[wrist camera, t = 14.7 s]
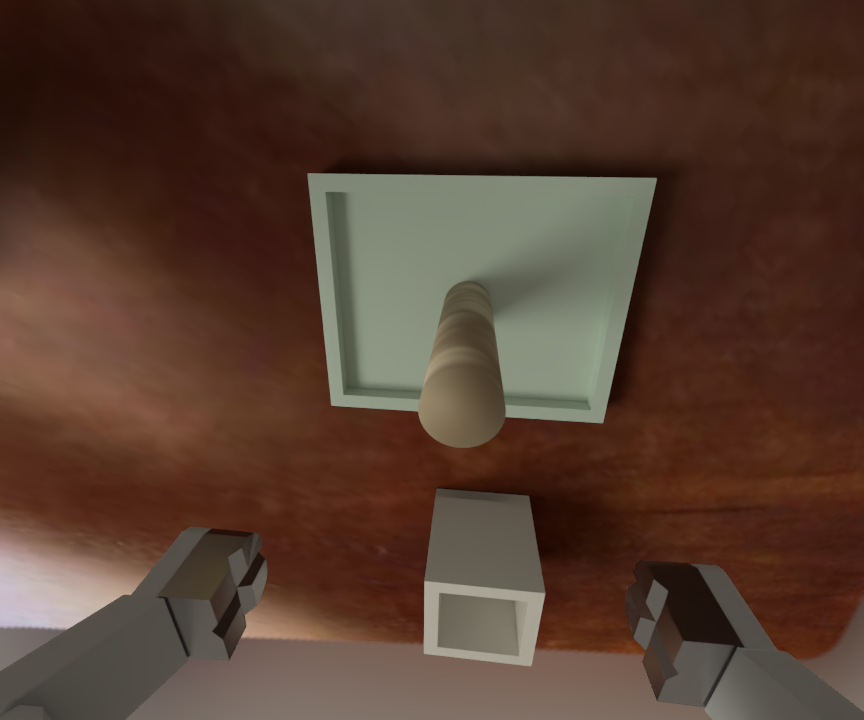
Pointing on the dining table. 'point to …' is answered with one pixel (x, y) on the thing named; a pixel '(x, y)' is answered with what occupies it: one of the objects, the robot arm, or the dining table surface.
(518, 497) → the cup
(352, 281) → the tray
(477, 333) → the dowel
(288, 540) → the dining table surface
